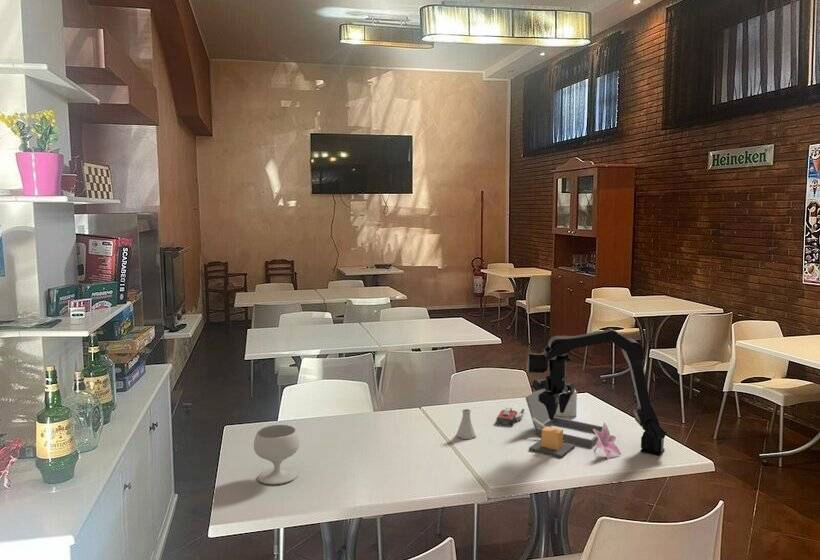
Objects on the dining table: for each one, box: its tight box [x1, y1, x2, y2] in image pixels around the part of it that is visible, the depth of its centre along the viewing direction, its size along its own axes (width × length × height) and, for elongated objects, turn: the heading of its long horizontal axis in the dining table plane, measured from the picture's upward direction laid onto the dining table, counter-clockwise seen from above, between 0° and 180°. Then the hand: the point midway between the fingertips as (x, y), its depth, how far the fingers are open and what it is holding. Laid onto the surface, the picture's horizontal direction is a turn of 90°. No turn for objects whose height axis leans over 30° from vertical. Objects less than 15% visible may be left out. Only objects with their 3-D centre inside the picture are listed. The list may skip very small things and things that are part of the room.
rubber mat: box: [528, 438, 576, 459], centre depth 212 cm, size 12×12×1 cm
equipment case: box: [525, 389, 603, 448], centre depth 227 cm, size 26×18×14 cm
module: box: [541, 426, 564, 450], centre depth 212 cm, size 6×4×6 cm
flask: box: [456, 408, 477, 440], centre depth 225 cm, size 7×7×10 cm
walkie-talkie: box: [496, 407, 525, 426], centre depth 245 cm, size 9×4×20 cm
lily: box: [593, 422, 622, 460], centre depth 208 cm, size 12×12×10 cm
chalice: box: [253, 424, 300, 485], centre depth 189 cm, size 14×14×15 cm
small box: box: [555, 389, 578, 417], centre depth 250 cm, size 8×6×10 cm
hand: (556, 416), depth 212 cm, fingers open, 9 cm apart
